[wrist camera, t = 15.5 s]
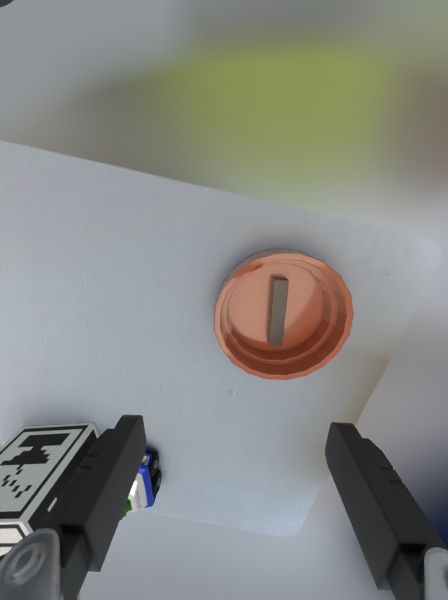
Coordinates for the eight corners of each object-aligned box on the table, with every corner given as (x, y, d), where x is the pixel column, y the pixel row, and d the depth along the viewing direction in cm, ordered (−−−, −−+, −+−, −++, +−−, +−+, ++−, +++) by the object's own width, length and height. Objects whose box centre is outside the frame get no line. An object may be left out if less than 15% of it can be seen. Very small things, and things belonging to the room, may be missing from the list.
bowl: (217, 248, 31) (214, 251, 26) (343, 250, 30) (366, 254, 25) (217, 356, 36) (214, 377, 31) (323, 360, 36) (339, 382, 30)
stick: (266, 339, 34) (268, 345, 32) (271, 276, 31) (274, 279, 29) (279, 339, 34) (282, 345, 32) (285, 277, 31) (289, 280, 29)
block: (50, 479, 48) (-29, 586, 33) (23, 426, 43) (-82, 523, 29) (115, 476, 46) (62, 586, 32) (94, 422, 42) (21, 521, 28)
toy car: (157, 442, 43) (136, 498, 34) (163, 484, 46) (146, 545, 37) (111, 441, 43) (79, 496, 34) (121, 482, 47) (94, 542, 38)
